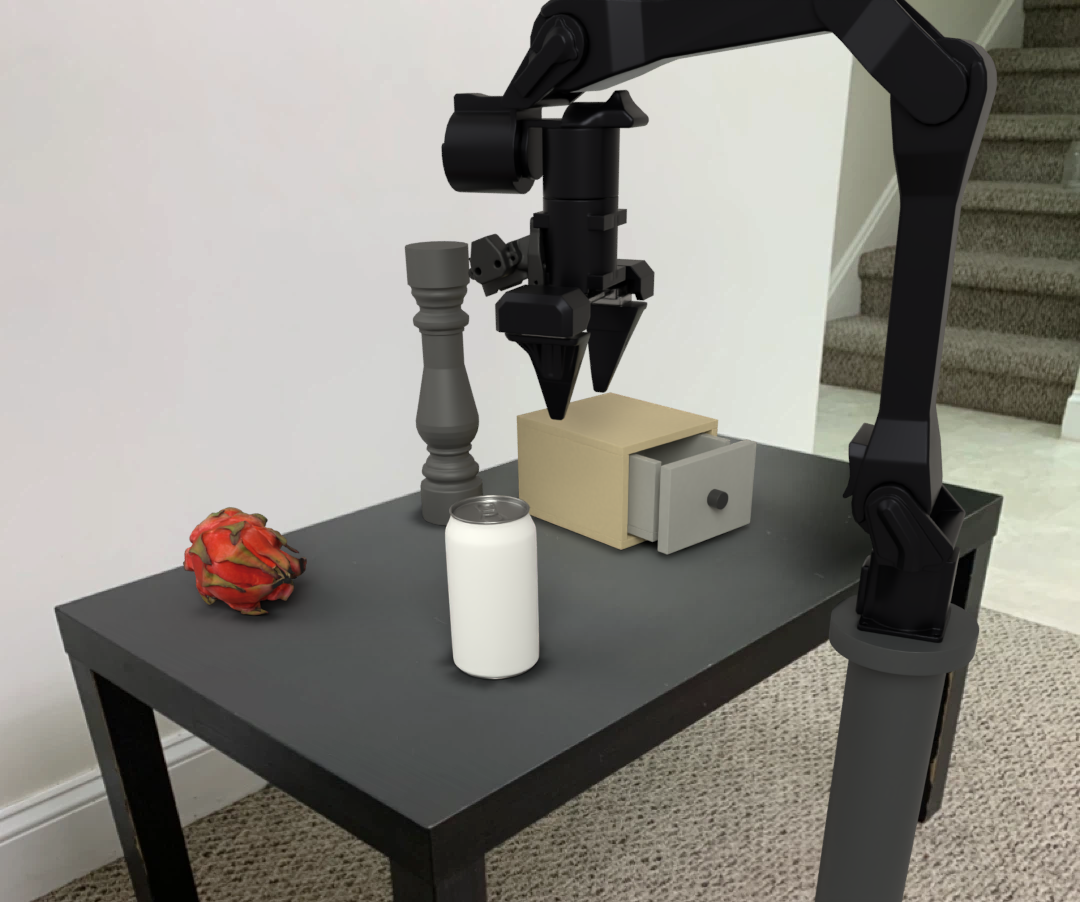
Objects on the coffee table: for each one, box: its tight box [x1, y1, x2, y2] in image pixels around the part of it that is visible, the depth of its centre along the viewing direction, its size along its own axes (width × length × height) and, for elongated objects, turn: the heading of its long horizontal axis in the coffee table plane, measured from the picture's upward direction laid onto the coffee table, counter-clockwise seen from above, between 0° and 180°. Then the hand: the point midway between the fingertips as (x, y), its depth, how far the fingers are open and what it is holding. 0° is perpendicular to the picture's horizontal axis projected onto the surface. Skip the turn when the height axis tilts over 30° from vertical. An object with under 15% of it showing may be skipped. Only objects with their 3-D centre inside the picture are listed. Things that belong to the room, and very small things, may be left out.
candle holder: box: [404, 240, 484, 526], centre depth 103 cm, size 6×6×25 cm
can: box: [444, 494, 540, 681], centre depth 79 cm, size 6×6×12 cm
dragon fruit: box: [182, 506, 308, 616], centre depth 90 cm, size 8×8×12 cm
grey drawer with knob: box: [627, 433, 758, 555], centre depth 102 cm, size 15×11×8 cm
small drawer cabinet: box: [516, 391, 719, 551], centre depth 106 cm, size 15×13×10 cm
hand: (579, 405), depth 90 cm, fingers open, 9 cm apart
